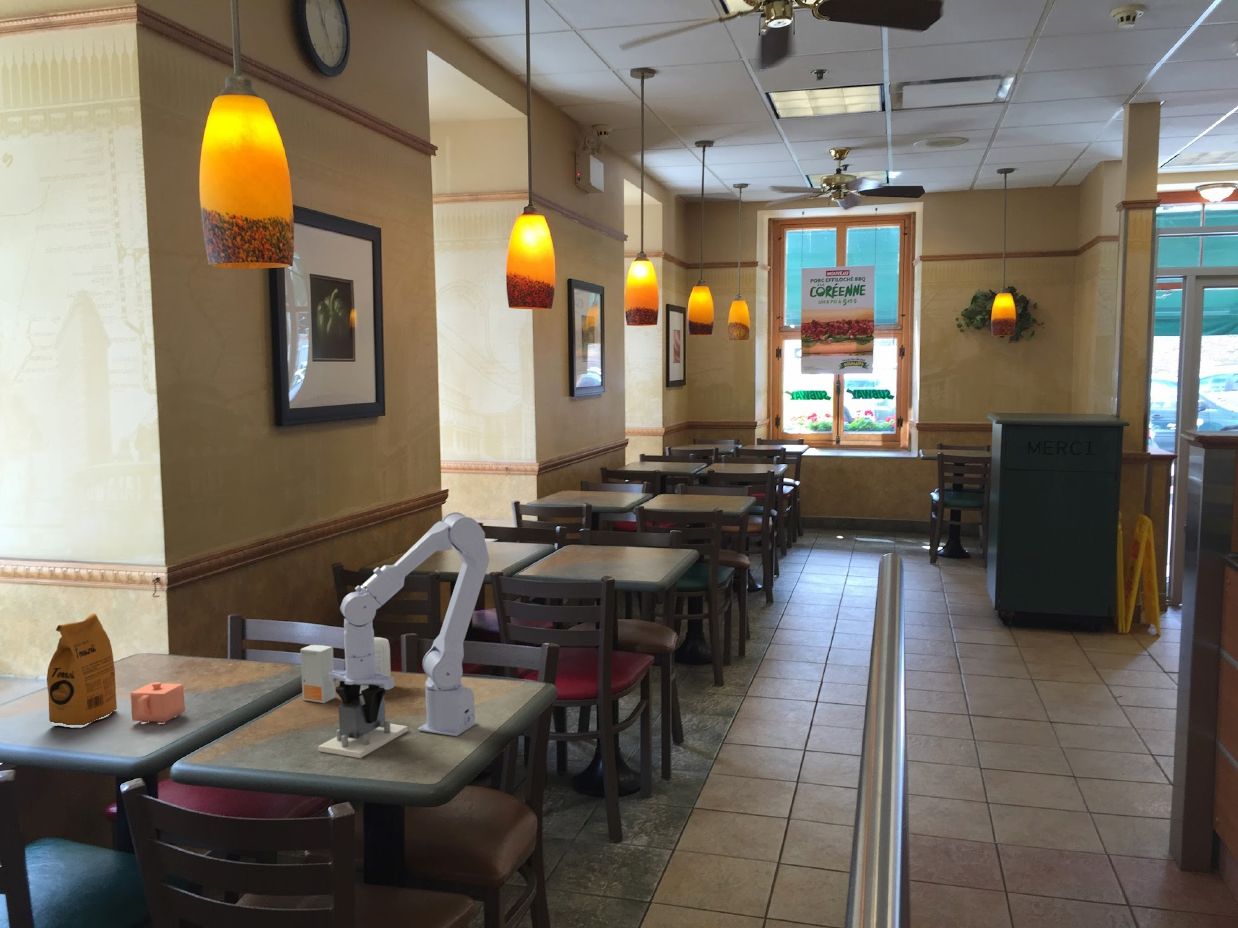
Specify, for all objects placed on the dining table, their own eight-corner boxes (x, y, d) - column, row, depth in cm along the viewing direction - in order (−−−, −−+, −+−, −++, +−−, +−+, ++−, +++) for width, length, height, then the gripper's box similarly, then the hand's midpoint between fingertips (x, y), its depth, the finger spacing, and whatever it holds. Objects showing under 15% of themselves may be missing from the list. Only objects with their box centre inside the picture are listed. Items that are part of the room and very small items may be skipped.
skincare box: (302, 700, 215) (299, 648, 214) (314, 694, 219) (312, 643, 218) (323, 703, 213) (321, 651, 212) (336, 697, 217) (333, 646, 216)
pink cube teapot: (194, 710, 211) (191, 673, 210) (159, 730, 199) (156, 691, 199) (162, 709, 212) (159, 672, 212) (125, 728, 201) (123, 690, 200)
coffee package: (41, 728, 202) (33, 626, 200) (86, 708, 214) (79, 611, 212) (81, 731, 200) (73, 627, 198) (124, 710, 212) (117, 613, 210)
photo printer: (387, 683, 226) (385, 632, 225) (394, 688, 223) (391, 636, 222) (344, 692, 221) (342, 640, 220) (350, 697, 217) (348, 644, 216)
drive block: (385, 723, 193) (384, 694, 193) (356, 738, 185) (355, 708, 185) (369, 720, 195) (367, 692, 194) (340, 736, 187) (338, 706, 186)
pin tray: (407, 730, 195) (406, 716, 195) (360, 758, 182) (359, 742, 181) (367, 724, 199) (367, 710, 199) (318, 751, 186) (317, 735, 185)
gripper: (316, 655, 188) (320, 722, 189) (377, 662, 182) (380, 731, 183) (340, 645, 195) (344, 710, 196) (399, 652, 189) (402, 719, 190)
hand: (363, 720), depth 190 cm, fingers closed on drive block, 4 cm apart
